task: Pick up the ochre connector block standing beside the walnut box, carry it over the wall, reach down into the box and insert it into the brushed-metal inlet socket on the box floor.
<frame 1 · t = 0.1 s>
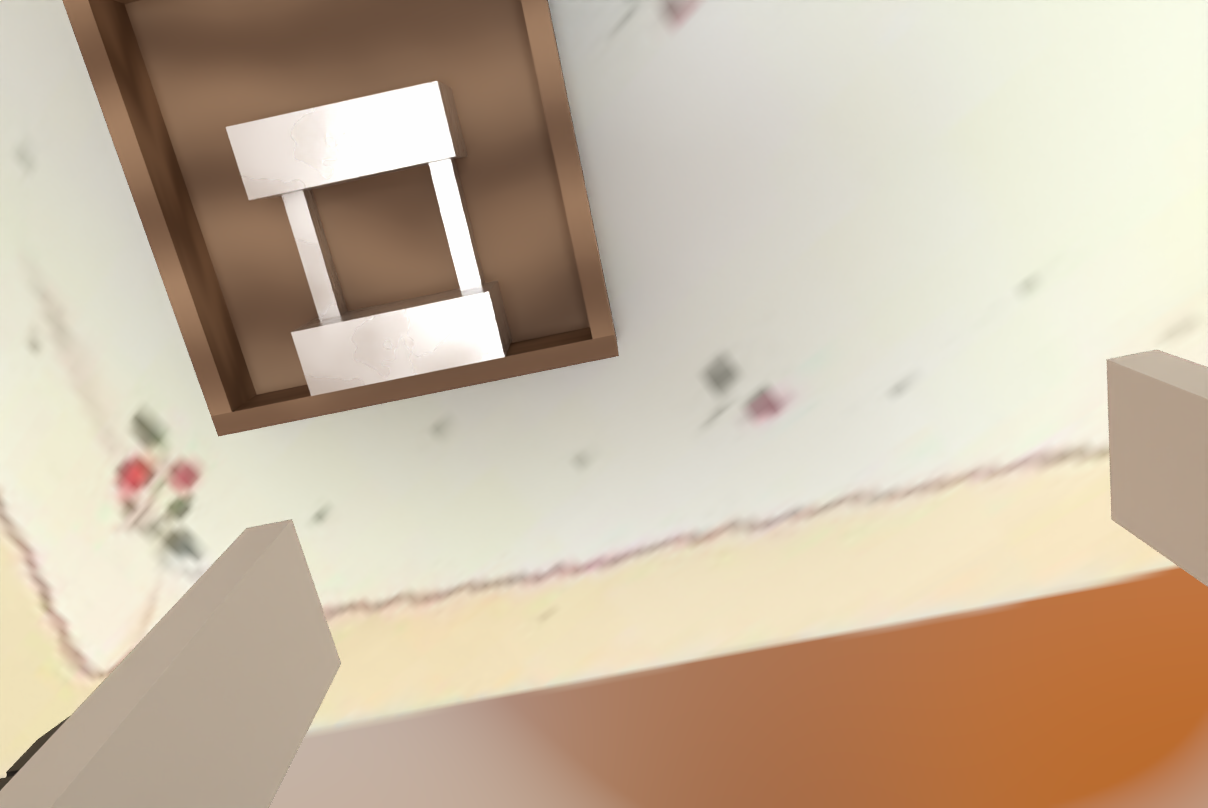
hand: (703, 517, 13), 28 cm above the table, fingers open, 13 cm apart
inlet: (392, 238, 39), resting on box
box: (375, 174, 39), on the table
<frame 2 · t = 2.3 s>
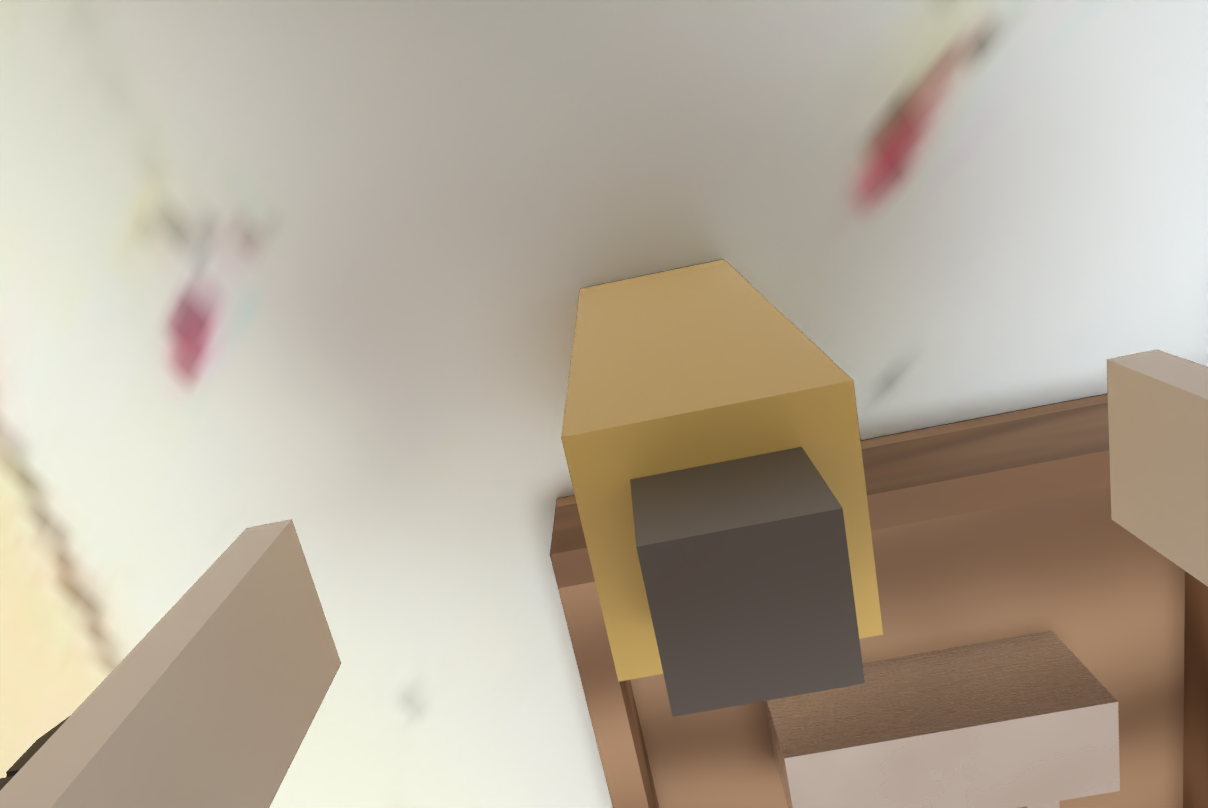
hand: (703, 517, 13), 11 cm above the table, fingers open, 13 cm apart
inlet: (914, 792, 28), resting on box
connector: (664, 343, 23), on the table
box: (906, 720, 27), on the table
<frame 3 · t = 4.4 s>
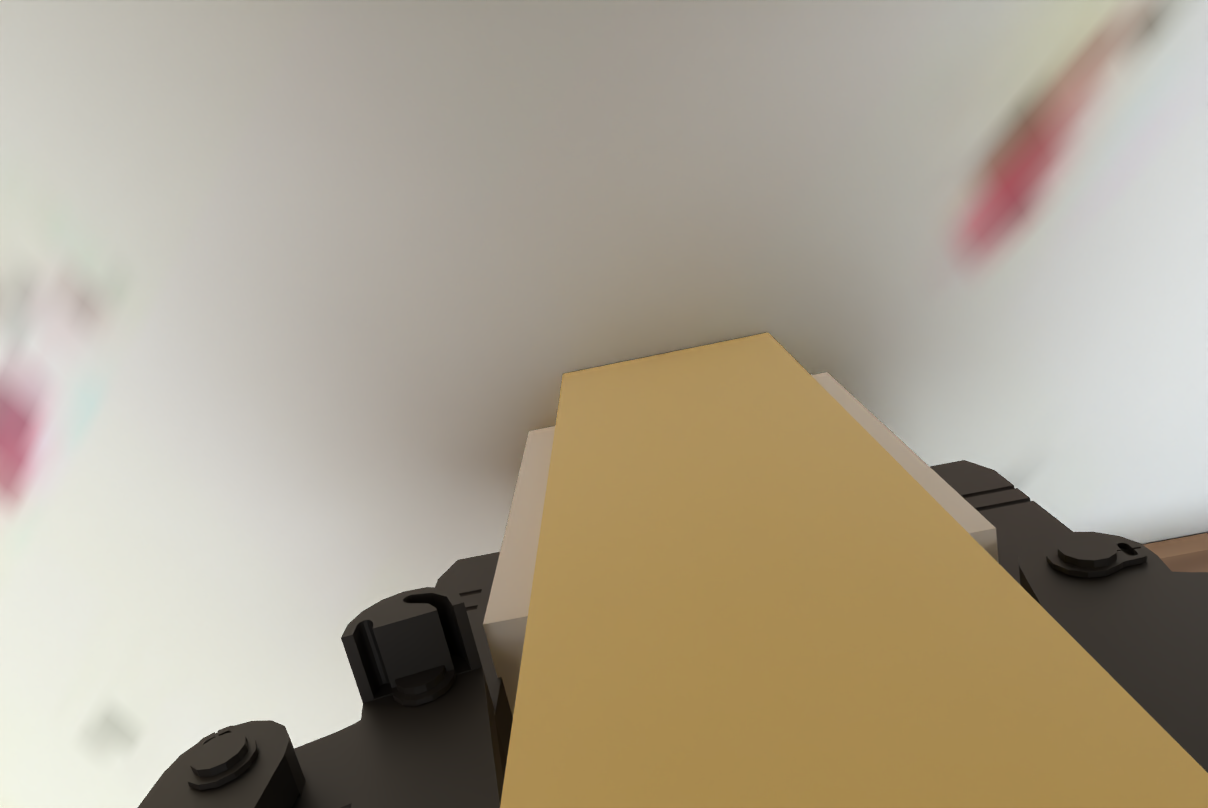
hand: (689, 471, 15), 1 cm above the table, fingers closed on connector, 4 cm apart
connector: (683, 449, 16), on the table, touching gripper
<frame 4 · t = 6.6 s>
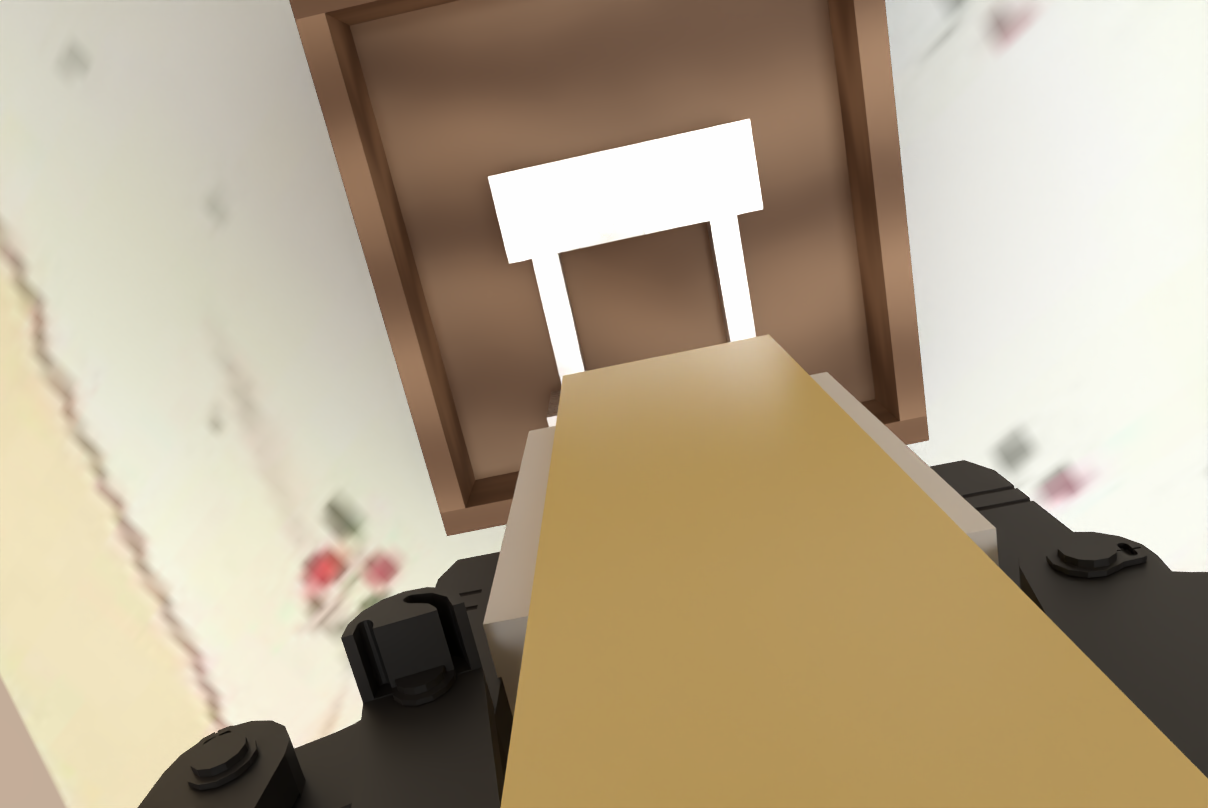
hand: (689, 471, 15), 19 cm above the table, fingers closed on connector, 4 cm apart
inlet: (644, 298, 33), resting on box
connector: (683, 451, 16), point 18 cm above the table, touching gripper
box: (629, 223, 32), on the table
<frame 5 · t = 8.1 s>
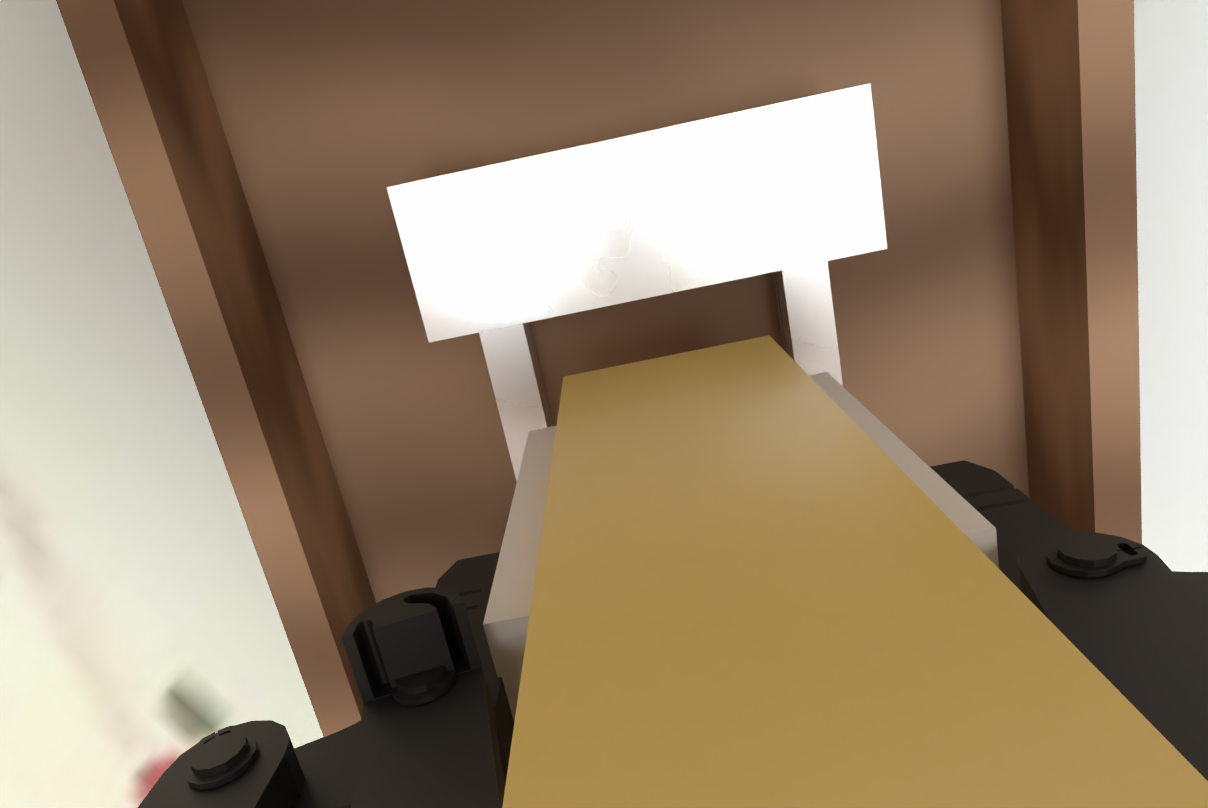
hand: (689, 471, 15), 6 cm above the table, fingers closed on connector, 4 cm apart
inlet: (665, 382, 21), resting on box
connector: (683, 452, 16), point 4 cm above the table, touching gripper
box: (642, 264, 20), on the table
when the fingers open (4 cm above the table, at t = 9.3 s): connector drops 2 cm, resting on box.
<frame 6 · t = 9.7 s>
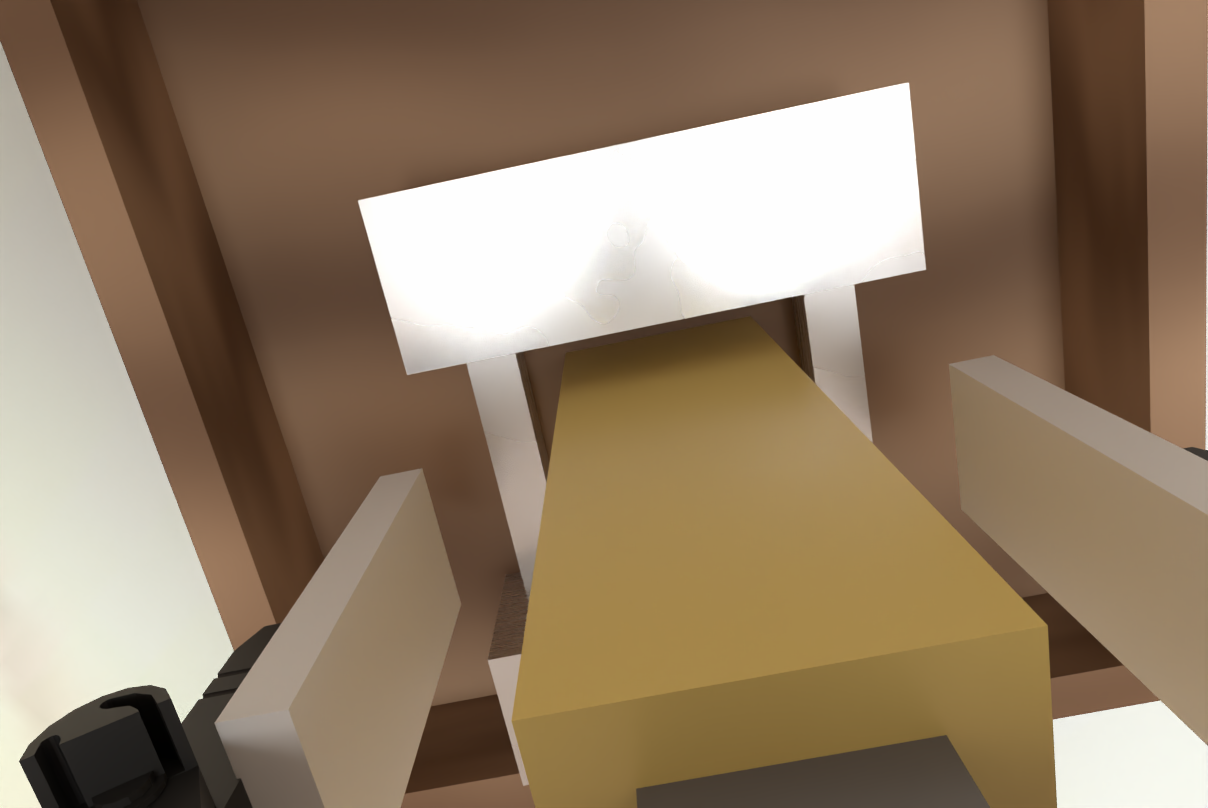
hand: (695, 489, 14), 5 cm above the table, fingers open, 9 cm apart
inlet: (671, 412, 19), resting on box
connector: (673, 421, 18), point 1 cm above the table, touching box
box: (647, 283, 18), on the table
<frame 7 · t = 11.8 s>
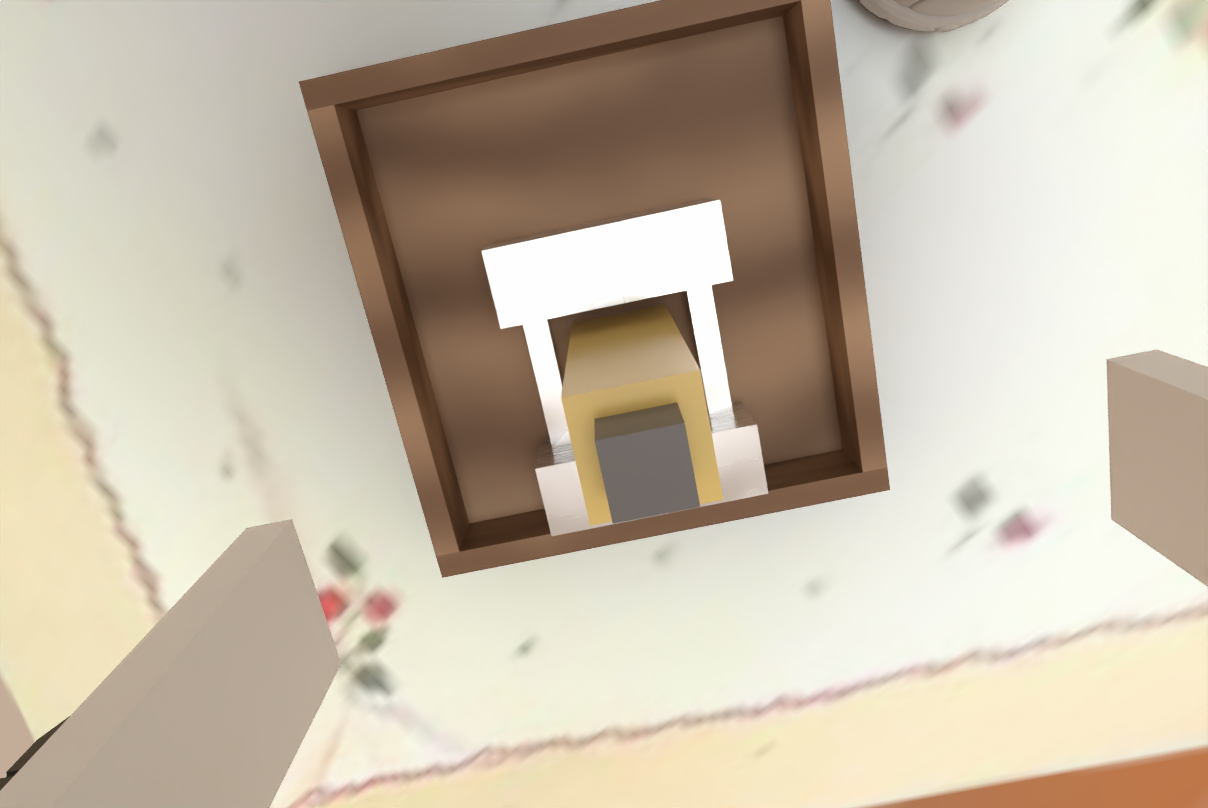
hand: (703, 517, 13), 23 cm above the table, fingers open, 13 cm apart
inlet: (627, 355, 36), resting on box
connector: (627, 359, 35), point 1 cm above the table, touching box
box: (613, 287, 35), on the table
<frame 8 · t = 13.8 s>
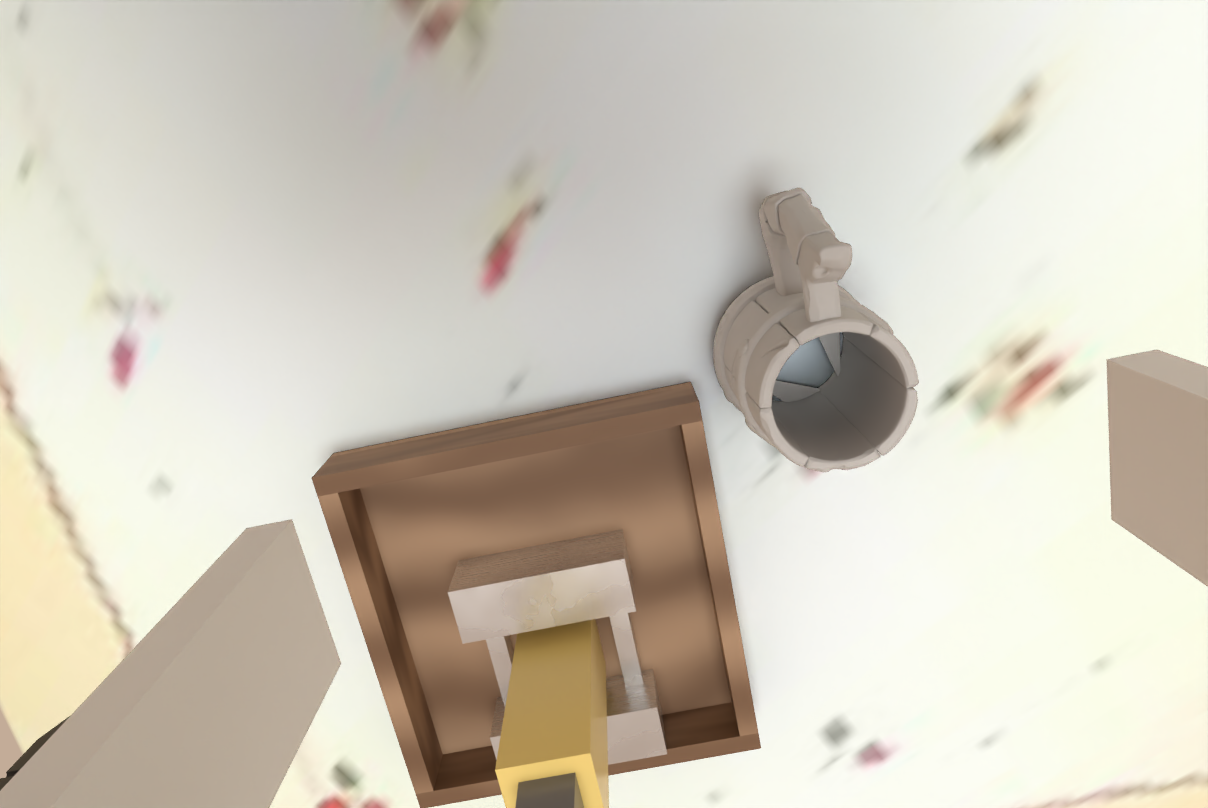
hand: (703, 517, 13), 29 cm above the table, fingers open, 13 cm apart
inlet: (563, 633, 46), resting on box
connector: (563, 639, 46), point 1 cm above the table, touching box
box: (552, 586, 46), on the table
mug: (777, 304, 42), on the table
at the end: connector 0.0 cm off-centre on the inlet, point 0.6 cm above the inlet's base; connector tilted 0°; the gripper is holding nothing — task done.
